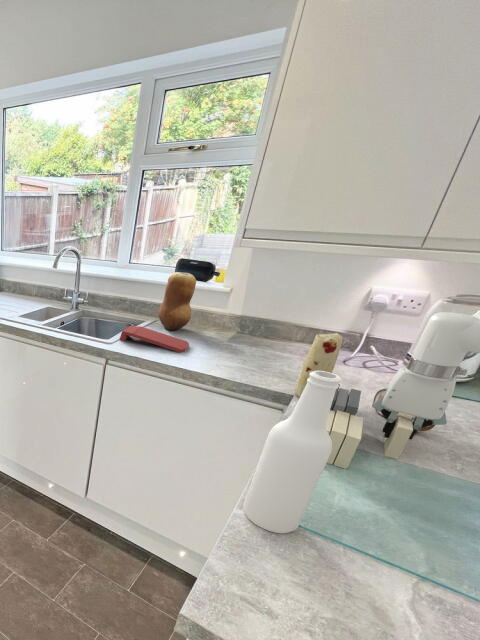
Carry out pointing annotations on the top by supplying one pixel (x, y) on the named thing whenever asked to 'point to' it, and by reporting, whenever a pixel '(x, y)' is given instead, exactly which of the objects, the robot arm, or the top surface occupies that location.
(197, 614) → the top surface
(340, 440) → the cream books
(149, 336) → the red hooked bar
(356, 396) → the grey books
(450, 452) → the top surface
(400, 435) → the cream book
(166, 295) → the butternut squash
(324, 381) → the alcohol
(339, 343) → the food model
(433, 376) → the robot arm
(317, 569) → the top surface
